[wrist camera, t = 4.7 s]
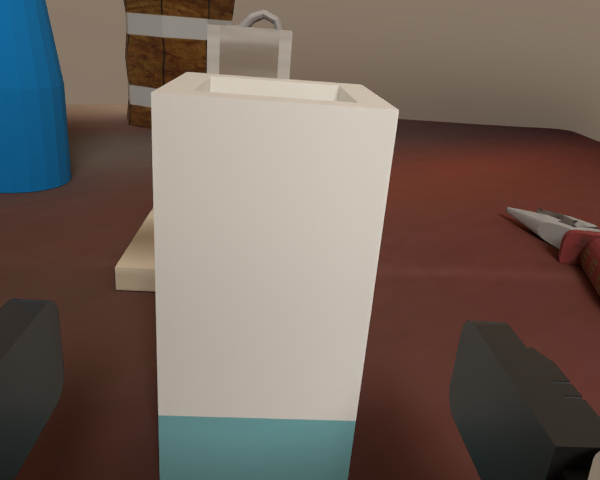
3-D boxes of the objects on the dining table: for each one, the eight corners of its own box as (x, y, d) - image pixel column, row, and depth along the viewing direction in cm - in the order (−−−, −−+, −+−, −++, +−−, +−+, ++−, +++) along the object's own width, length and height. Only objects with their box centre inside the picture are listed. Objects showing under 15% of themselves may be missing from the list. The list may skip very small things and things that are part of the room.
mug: (105, 126, 64) (98, -15, 59) (144, 110, 77) (141, -7, 71) (272, 141, 63) (280, -1, 58) (284, 122, 76) (291, 5, 70)
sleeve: (346, 489, 16) (399, 110, 12) (159, 486, 16) (150, 92, 12) (328, 379, 21) (361, 84, 17) (186, 374, 21) (187, 72, 17)
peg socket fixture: (340, 299, 27) (370, 40, 23) (116, 289, 27) (102, 19, 22) (312, 188, 46) (326, 33, 42) (179, 180, 45) (179, 21, 41)
